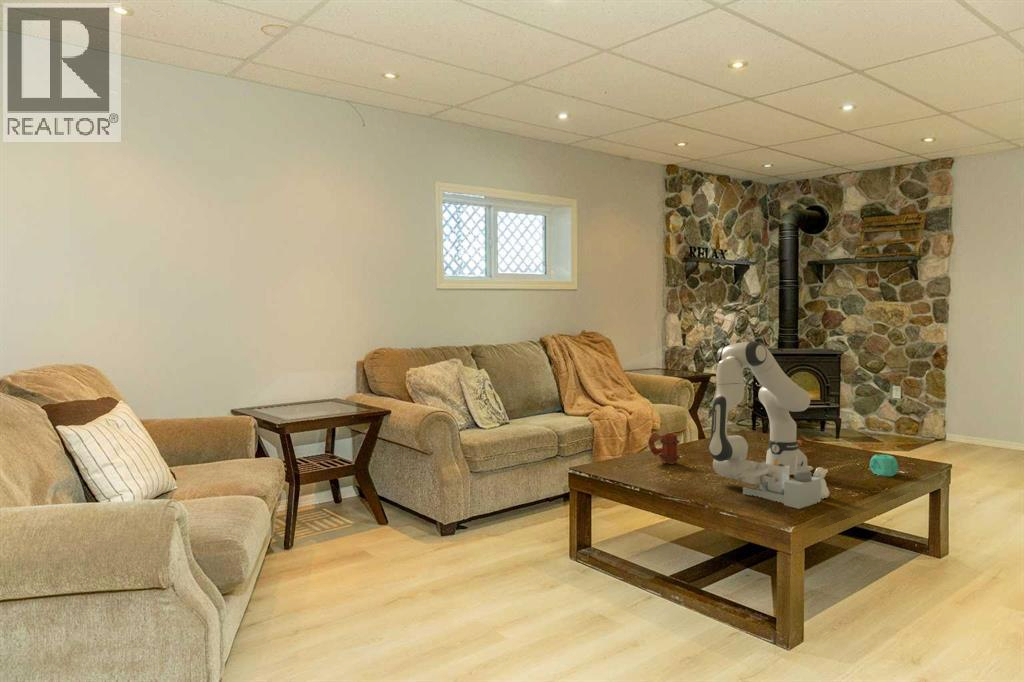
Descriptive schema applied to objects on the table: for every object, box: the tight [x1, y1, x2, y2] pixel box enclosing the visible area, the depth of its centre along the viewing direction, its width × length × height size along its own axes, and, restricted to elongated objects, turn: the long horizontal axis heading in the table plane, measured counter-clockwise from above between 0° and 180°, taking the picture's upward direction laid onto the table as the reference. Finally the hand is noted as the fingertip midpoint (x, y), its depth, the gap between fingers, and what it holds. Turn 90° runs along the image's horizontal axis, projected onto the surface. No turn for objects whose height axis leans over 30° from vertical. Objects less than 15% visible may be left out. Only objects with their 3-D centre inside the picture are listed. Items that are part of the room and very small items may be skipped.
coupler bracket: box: [742, 470, 822, 510], centre depth 264 cm, size 15×25×12 cm, turn 36°
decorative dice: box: [869, 454, 899, 477], centre depth 299 cm, size 8×8×8 cm
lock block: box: [767, 459, 790, 495], centre depth 265 cm, size 5×6×14 cm
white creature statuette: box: [812, 466, 830, 500], centre depth 265 cm, size 10×9×12 cm
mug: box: [648, 431, 680, 465], centre depth 322 cm, size 15×8×15 cm, turn 84°
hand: (780, 479), depth 264 cm, fingers closed on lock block, 5 cm apart
